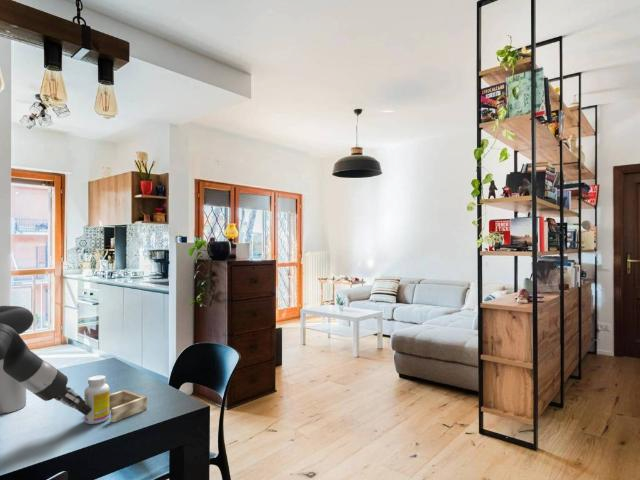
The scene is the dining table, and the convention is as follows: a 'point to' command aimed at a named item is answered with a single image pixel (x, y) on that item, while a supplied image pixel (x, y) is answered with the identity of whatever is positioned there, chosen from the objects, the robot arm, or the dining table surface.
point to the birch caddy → (126, 404)
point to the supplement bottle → (97, 400)
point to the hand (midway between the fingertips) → (88, 411)
